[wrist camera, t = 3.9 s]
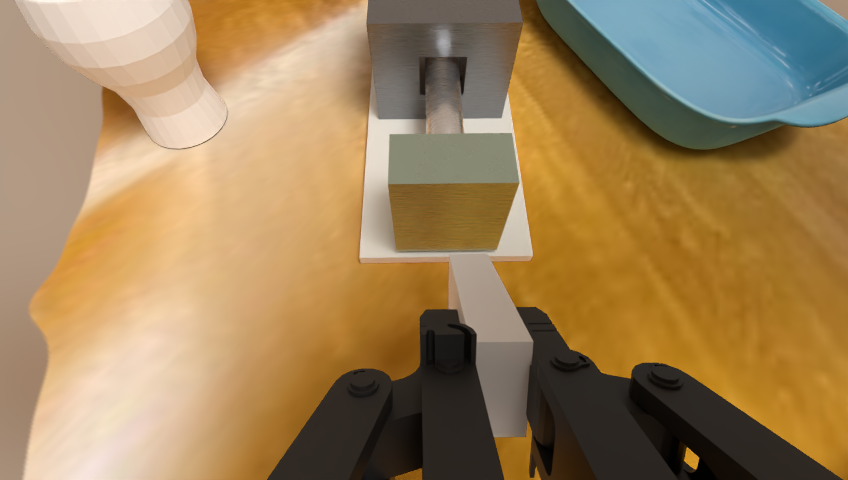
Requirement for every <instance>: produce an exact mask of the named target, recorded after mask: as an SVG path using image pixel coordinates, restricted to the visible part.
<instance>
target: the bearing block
mask: <svg viewBox="0 0 848 480" xmlns="http://www.w3.org/2000/svg"><path fill="white" fill-rule="evenodd" d="M366 24H367V32H368V39H369V47H370V55H371V63H372V70H373V78H374V86H375V93H376V101H377V109H378V117H379V119H426V94H425V57H458V61H459V74H460V87H461V99H462V112H463V119H481V118H502V114H503V110H504V105H505V101H506V97H507V92H508V88H509V83H510V79H511V74H512V70H513V66H514V61H515V57H516V52H517V48H518V43H519V39H520V34H521V30H522V26H523V19H522V14H521V9H520V4H519V0H368V11H367V23H366Z"/></svg>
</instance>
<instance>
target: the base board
mask: <svg viewBox="0 0 848 480" xmlns="http://www.w3.org/2000/svg"><path fill="white" fill-rule="evenodd" d="M463 124H464V133H512V136H513V143H514V149H515V156H516V163H517V169H518V176H519V182H520V183H519V186H518V189H517V192H516V195H515V198H514V200H513V203H512V206H511V209H510V212H509V215H508V218H507V221H506V224H505V227H504V230H503V233H502V236H501V239H500V242H499V244H498V247H497V250H460V251H396V244H395V236H394V229H393V221H392V213H391V205H390V197H389V190H388V164H389V134H426V119H379V117H378V109H377V101H376V93H375V86H374V78H373V70H372V77H371V92H370V107H369V121H368V136H367V151H366V166H365V181H364V196H363V211H362V226H361V241H360V256H359V258H360V262H361V263H416V262H449V254H488V256H489V258H490V260H491V262H498V261H531V259H532V257H533V252H532V245H531V239H530V232H529V226H528V219H527V213H526V206H525V200H524V194H523V187H522V181H521V174H520V168H519V161H518V155H517V148H516V142H515V136H514V129H513V123H512V116H511V110H510V103H509V97H508V92H507V97H506V101H505V105H504V110H503V114H502V118H481V119H463Z"/></svg>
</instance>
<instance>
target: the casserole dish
mask: <svg viewBox="0 0 848 480" xmlns="http://www.w3.org/2000/svg"><path fill="white" fill-rule="evenodd" d="M536 1H537V4H538V7H539V9H540V12H541V13H542V15H543V17H544V18H545V20H546V21H547V22H548V24H549V25H550V26H551V27H552V29H553V30H554V31H555V32H556V33H557V34H558V35H559V37H560V38H561V39H562V40H563V41H564V42H565V43H566V44H567V45H568V46H569V47H570V48H571V49H572V50H573V51H574V52H575V53H576V54H577V56H578V57H579V58H580V59H581V60H582V61H583V62H584V63H585V64H586V65H587V66H588V67H589V68H590V69H591V70H592V71H593V72H594V74H595V75H596V76H597V77H598V78H599V79H600V80H601V81H602V82H603V83H604V84H605V85H606V86H607V87H608V88H609V89H610V90H611V92H612V93H613V94H614V95H615V96H616V97H617V98H618V99H619V100H620V101H621V102H622V103H623V104H624V105H625V106H626V107H627V108H628V109H629V110H630V111H631V112H632V113H633V114H634V115H635V116H637V117H638V118H639V119H640V120H641V121H642V122H643V123H644V124H645V125H647V126H648V127H649V128H650V129H652V130H653V131H654V132H656V133H657V134H659V135H660V136H662V137H663V138H665V139H666V140H668V141H670V142H672V143H675V144H677V145H679V146H683V147H686V148H691V149H715V148H720V147H724V146H728V145H731V144H734V143H737V142H740V141H743V140H746V139H749V138H752V137H755V136H757V135H760V134H763V133H765V132H768V131H771V130H773V129H776V128H778V127H781V126H783V125H788V126H794V127H806V128H809V127H819V126H824V125H828V124H832V123H835V122H837V121H839V120H842V119H844V118H846V117H848V21H847V20H846V19H844V18H843V17H841V16H840V15H839V14H837V13H836V12H834V11H833V10H831V9H830V8H828V7H827V6H826V5H824V4H823V3H821V2H820V1H818V0H536Z"/></svg>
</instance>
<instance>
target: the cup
mask: <svg viewBox="0 0 848 480" xmlns="http://www.w3.org/2000/svg"><path fill="white" fill-rule="evenodd" d="M14 1H15V3H16V4H17V6H18V8H19V10H20V11H21V13H22V15H23V16H24V18H25V20H26V22H27V23H28V24H29V26H30V28H31V29H32V30H33V32H34V33H35V34H36V35H37V36H38V37H39V38H40V40H41V41H42V42H43V43H44V44H45V45H46V46H47V47H48V48H49V49H50V51H51V52H53V54H54V55H55V56H56V57H57V58H59V59H60V60H62V61H63V62H65V63H66V64H68V65H69V66H70V67H72V68H73V69H75V70H76V71H78V72H79V73H81V74H82V75H84V76H85V77H87V78H88V79H90V80H92V81H93V82H95V83H97V84H99V85H102V86H104V87H106V88H108V89H110V90H112V91H114V92H116V93H117V94H118V95H119V96H120V97H122V98H123V99H124V100H125V101H126V102H127V103H128V104H129V105H130V106H131V107H132V108H133V109H134V111H135V113H136V114H137V116H138V118H139V120H140V122H141V124H142V125H143V127H144V129H145V130H146V132H147V133H148V135H149V136H150V138H151V139H152V140H153V141H154V142H155V143H157V144H158V145H160V146H163V147H167V148H176V149H181V148H187V147H192V146H195V145H198V144H201V143H203V142H205V141H206V140H208V139H210V138H211V137H213V136H214V135H215V134H216V133H217V132H218V131H219V130H220V129H221V127H222V126H223V125H224V123H225V120H226V117H227V109H226V106H225V103H224V102H223V101H222V99H221V98H220V96H219V95H218V94H217V93H216V91H215V90H214V89H213V88H212V87H211V85H210V84H209V83H208V82H207V81H206V79H205V78H204V77H203V75H202V72H201V69H200V67H199V64H198V62H197V59H196V30H195V25H194V20H193V15H192V10H191V7H190V4H189V2H188V0H14Z"/></svg>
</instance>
